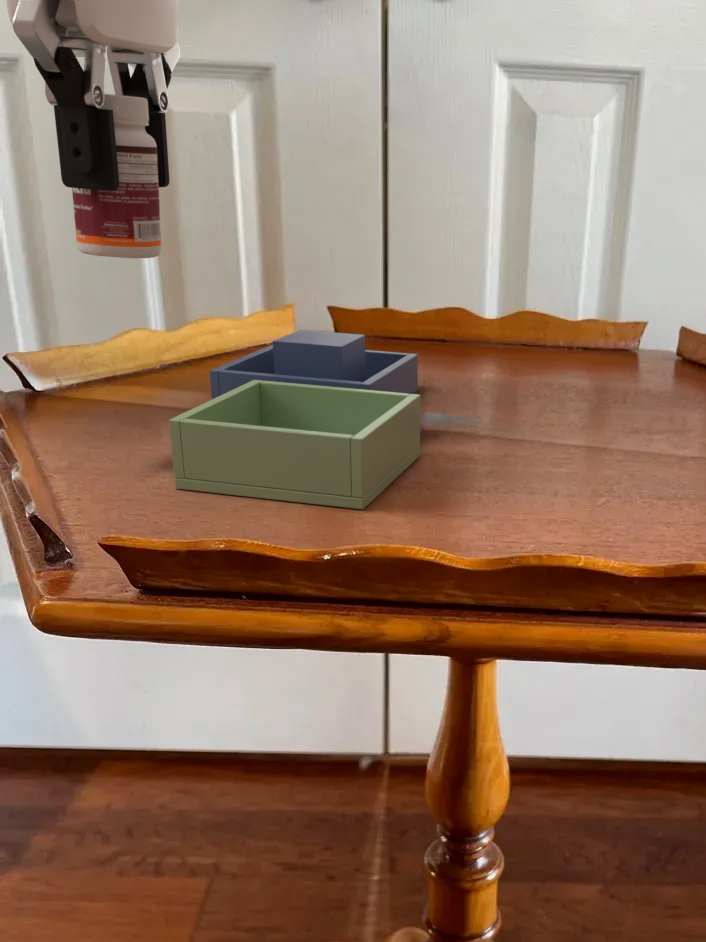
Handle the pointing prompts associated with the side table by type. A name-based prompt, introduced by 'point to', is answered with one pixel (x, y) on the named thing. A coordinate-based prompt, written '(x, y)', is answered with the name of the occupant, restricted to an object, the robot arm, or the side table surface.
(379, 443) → the bin green
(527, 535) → the side table surface
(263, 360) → the bin blue
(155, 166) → the pill bottle
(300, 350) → the block
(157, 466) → the side table surface
